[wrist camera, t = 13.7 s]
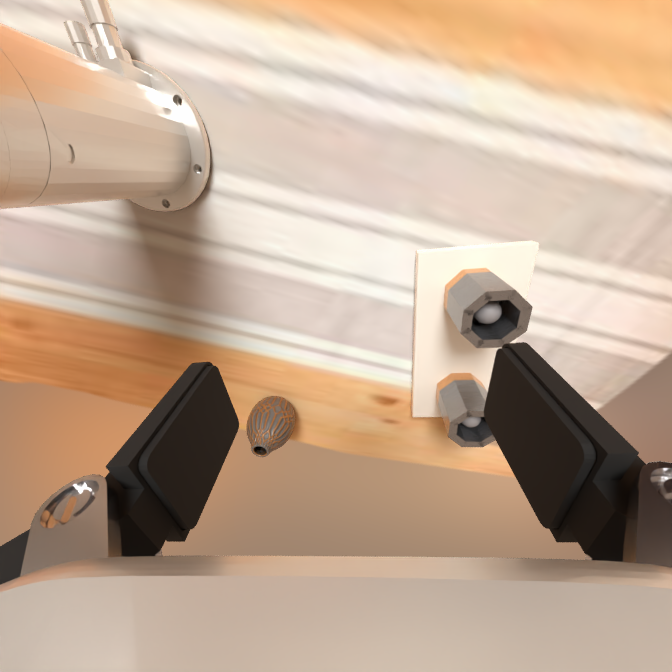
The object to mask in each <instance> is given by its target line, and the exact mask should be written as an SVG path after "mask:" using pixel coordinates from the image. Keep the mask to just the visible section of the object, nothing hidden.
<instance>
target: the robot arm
mask: <svg viewBox="0 0 672 672" xmlns="http://www.w3.org/2000/svg"><path fill="white" fill-rule="evenodd" d="M80 1H81V4H82V7H83V9H84V12H85V15H86V17H87V20H88V23H89V26H90V28H91V29H92V30H93V33H94V36H95V38H96V41H97V44H98V46H99V47H97V48H96V49H95V52H96V55H97V58H98V60H99V61H96V58H95V55H94V53H93V50H92V45H91V42H90V40H89V37H88V34H87V32H86V29H85V27H84V25H83V24H81V23H79V22H75V21H66V22H64V26H65V28H66V31H67V33H68V36H69V38H70V40H71V43H72V45H73V46H74V48H75V51H76V53H77V55H74V54H72V53H70V52H67V51H65V50H63V49H60V48H58V47H55V46H53V45H51V44H48V43H46V42H44V41H41V40H39V39H37V38H34V37H32V36H30V35H27V34H25V33H22V32H20V31H18V30H15V29H13V28H11V27H8V26H6V25H4V24H1V23H0V209H5V208H20V207H33V206H45V205H58V204H70V203H83V202H95V201H107V200H120V199H129V200H131V201H132V202H134V203H135V204H138V205H140V206H142V207H144V208H147V209H150V210H154V211H164V212H168V211H175V210H179V209H182V208H185V207H187V206H189V205H190V204H192V203H193V202H194V201H195V200H196V199H197V198H198V197H199V196H200V195H201V193H202V191H203V190H204V188H205V186H206V183H207V180H208V177H209V170H210V148H209V143H208V137H207V134H206V131H205V128H204V125H203V122H202V120H201V118H200V116H199V114H198V112H197V110H196V108H195V106H194V105H193V103H192V102H191V100H190V99H189V97H188V96H187V94H186V93H185V92H184V91H183V90H182V89H181V88H180V87H179V86H178V85H177V83H176V82H175V81H173V80H172V79H171V78H169V77H168V76H167V75H166V74H164V73H163V72H161V71H159V70H158V69H156V68H154V67H152V66H150V65H148V64H145V63H143V62H140V61H138V60H132V59H131V56H130V53H129V52H128V51H127V50H125V49H123V47H122V44H121V41H120V38H119V35H118V32H117V31H118V29H117V26H116V23H115V20H114V17H113V14H112V11H111V8H110V5H109V2H108V0H80ZM181 100H182V105H181ZM200 167H201V168H202V172H201V170H200ZM169 203H170V204H169ZM484 417H485V420H486V423H487V424H488V426H489V428H490V430H491V432H492V434H493V436H494V437H495V439H496V441H497V443H498V445H499V447H500V449H501V450H502V452H503V454H504V456H505V458H506V460H507V462H508V464H509V465H510V467H511V469H512V471H513V473H514V475H515V477H516V478H517V480H518V482H519V484H520V486H521V488H522V489H523V492H524V493H525V495H526V497H527V499H528V501H529V503H530V504H531V506H532V508H533V510H534V512H535V514H536V516H537V517H538V520H539V521H540V523H541V524H542V525H543V526H544V527H545V528H549V529H550V531H551V532H552V534H553V536H554V538H555V539H556V542H578V543H579V544H580V546H581V548H582V549H583V551H584V553H585V554H586V559H585V560H565V559H530V558H462V557H458V558H457V557H365V556H362V557H360V556H358V557H357V556H356V557H355V556H162V551H161V548H162V546H163V544H164V542H165V540H167V541H185V540H186V538H187V535H188V533H189V531H190V529H193V528H194V527H195V526H196V524H197V522H198V520H199V518H200V515H201V513H202V511H203V509H204V506H205V504H206V502H207V500H208V497H209V495H210V493H211V490H212V488H213V486H214V484H215V481H216V479H217V477H218V474H219V472H220V470H221V468H222V465H223V463H224V461H225V458H226V456H227V454H228V451H229V449H230V447H231V445H232V443H233V440H234V438H235V435H236V433H237V431H238V428H239V421H238V418H237V415H236V413H235V410H234V408H233V405H232V403H231V400H230V397H229V395H228V392H227V390H226V387H225V385H224V382H223V380H222V377H221V375H220V372H219V370H218V368H217V367H216V366H213V364H212V363H210V362H201V363H192V364H191V365H190V366H189V367H188V368H187V370H186V371H185V372H184V373H183V374H182V376H181V377H180V378H179V379H178V380H177V382H176V383H175V384H174V385H173V386H172V388H171V389H170V390H169V391H168V392H167V394H166V395H165V396H164V397H163V398H162V400H161V401H160V402H159V403H158V404H157V406H156V407H155V408H154V409H153V410H152V412H151V413H150V414H149V415H148V416H147V418H146V419H145V420H144V421H143V422H142V424H141V425H140V426H139V427H138V428H137V430H136V431H135V432H134V433H133V434H132V436H131V437H130V438H129V439H128V440H127V442H126V443H125V444H124V445H123V446H122V448H121V449H120V450H119V451H118V452H117V454H116V455H115V456H114V457H113V458H112V460H111V461H110V462H109V463H108V464H107V466H106V468H107V469H108V470H109V471H110V472H109V473H108V475H107V476H106V477H105V478H104V477H103V476H101V475H95V474H92V475H88V476H83V477H81V478H79V479H76V480H74V481H72V482H70V483H69V484H67V485H65V486H63V487H62V488H61V489H59V490H58V491H57V492H55V493H54V494H53V495H52V496H50V498H49V499H47V500H46V501H45V502H44V503H43V505H42V506H41V507H40V508H39V510H38V511H37V513H36V514H35V516H34V519H33V521H32V523H31V528H30V529H29V530H28V531H26V532H24V533H22V534H21V535H19V536H17V537H16V538H14V539H12V540H11V541H9V542H7V543H5V544H4V545H2V546H0V672H672V463H668V462H661V461H659V462H649V463H647V464H645V463H644V462H643V461H642V460H641V459H640V458H639V457H638V456H637V455H638V453H639V452H637V451H636V450H635V449H634V448H633V447H632V446H631V445H630V444H629V443H628V442H627V441H626V440H625V439H624V438H623V437H622V436H621V435H620V434H619V433H618V432H617V431H616V430H615V429H614V428H613V427H612V426H611V425H610V424H609V423H608V422H607V421H606V420H605V419H604V418H603V417H602V416H601V415H600V414H599V413H598V412H597V411H596V410H595V409H594V408H593V407H592V406H591V405H590V404H589V403H588V402H587V401H586V400H585V399H583V398H582V397H581V396H580V395H579V394H578V393H577V392H576V391H575V390H574V389H573V388H572V387H571V386H570V385H569V384H568V383H567V382H566V381H565V380H564V379H563V378H562V377H561V376H560V375H559V374H558V373H557V372H556V371H555V370H554V369H553V368H552V367H551V366H550V365H549V364H548V363H547V362H546V361H545V360H544V359H543V358H542V357H541V356H540V355H539V354H538V353H537V352H536V351H535V350H534V349H533V348H532V347H530V346H529V345H528V344H527V343H524V342H522V343H506V344H504V345H503V346H502V348H499V349H498V350H497V351H496V355H495V360H494V364H493V369H492V374H491V379H490V383H489V388H488V393H487V397H486V402H485V407H484Z"/></svg>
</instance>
